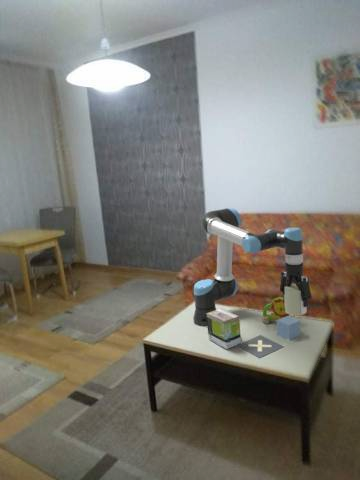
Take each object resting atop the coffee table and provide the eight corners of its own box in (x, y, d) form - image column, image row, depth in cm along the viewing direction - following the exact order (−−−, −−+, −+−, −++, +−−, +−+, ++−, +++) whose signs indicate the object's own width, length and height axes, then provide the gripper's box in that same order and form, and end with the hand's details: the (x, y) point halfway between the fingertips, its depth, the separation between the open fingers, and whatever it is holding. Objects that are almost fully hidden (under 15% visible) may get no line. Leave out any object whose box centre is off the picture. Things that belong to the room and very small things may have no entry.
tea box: (242, 343, 180) (240, 315, 177) (226, 350, 175) (224, 321, 172) (223, 333, 193) (220, 307, 190) (207, 339, 188) (205, 312, 185)
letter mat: (236, 345, 179) (236, 344, 179) (260, 335, 187) (260, 334, 187) (259, 358, 166) (259, 357, 166) (283, 346, 174) (283, 346, 173)
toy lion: (262, 323, 200) (261, 297, 197) (264, 319, 205) (263, 294, 202) (291, 327, 193) (291, 300, 190) (293, 322, 198) (292, 296, 195)
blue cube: (277, 334, 186) (276, 320, 185) (288, 329, 190) (287, 315, 189) (289, 340, 180) (288, 325, 178) (300, 335, 184) (299, 320, 182)
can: (307, 315, 160) (306, 290, 158) (285, 315, 162) (285, 290, 160) (304, 307, 169) (304, 283, 167) (284, 307, 171) (283, 283, 169)
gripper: (270, 260, 168) (272, 305, 173) (308, 269, 150) (309, 319, 154) (281, 256, 172) (283, 301, 176) (320, 265, 154) (320, 314, 158)
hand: (295, 309), depth 165 cm, fingers closed on can, 9 cm apart
